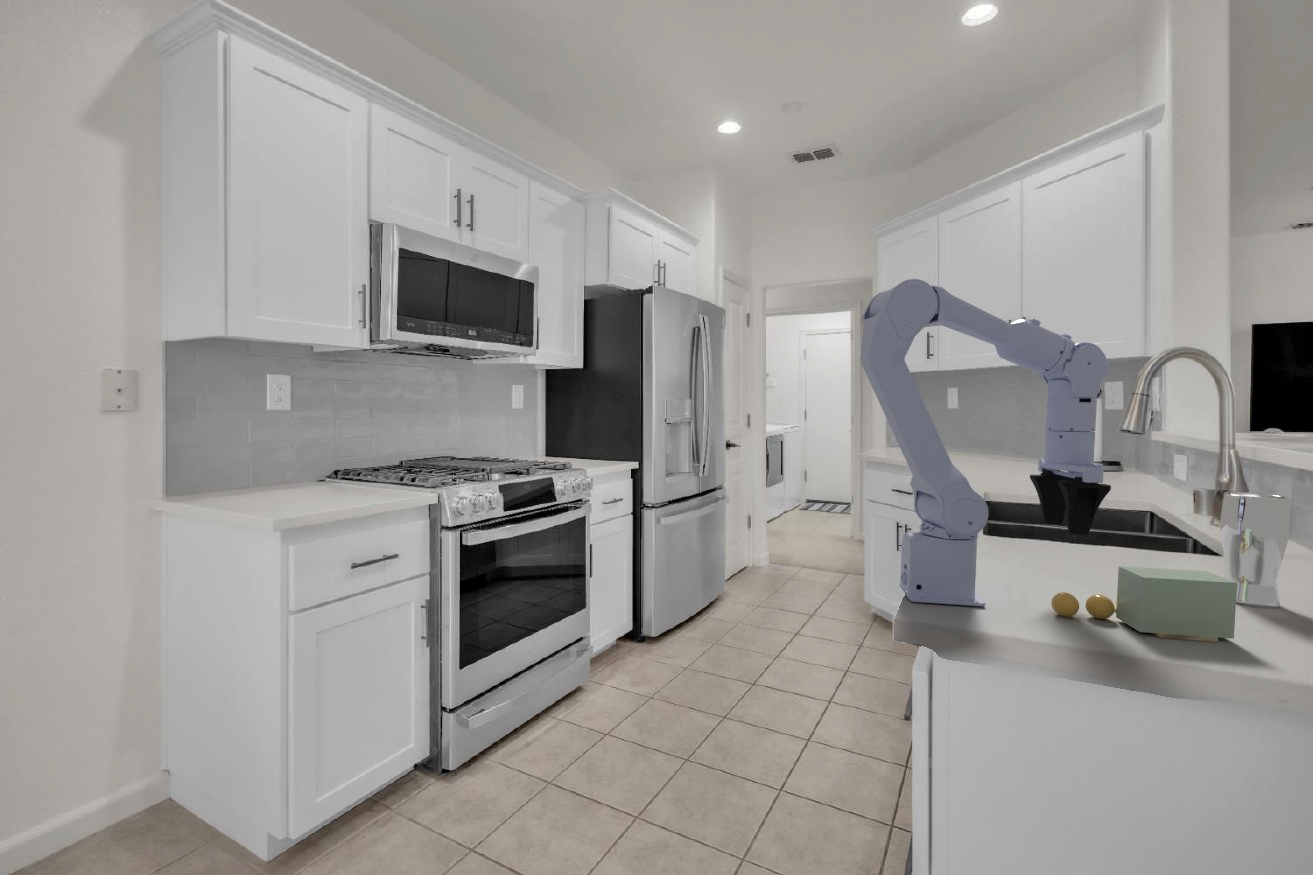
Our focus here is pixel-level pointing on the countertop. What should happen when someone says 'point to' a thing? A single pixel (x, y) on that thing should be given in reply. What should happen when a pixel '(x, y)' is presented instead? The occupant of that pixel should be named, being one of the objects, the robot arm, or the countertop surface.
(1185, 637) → the pad two
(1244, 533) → the beer glass
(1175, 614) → the pale green block
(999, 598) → the countertop surface
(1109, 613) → the marble
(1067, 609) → the marble
